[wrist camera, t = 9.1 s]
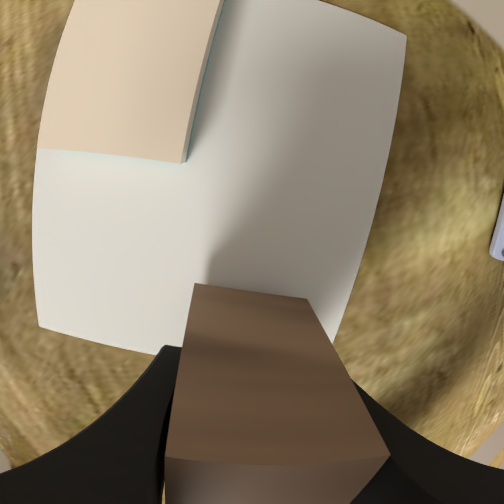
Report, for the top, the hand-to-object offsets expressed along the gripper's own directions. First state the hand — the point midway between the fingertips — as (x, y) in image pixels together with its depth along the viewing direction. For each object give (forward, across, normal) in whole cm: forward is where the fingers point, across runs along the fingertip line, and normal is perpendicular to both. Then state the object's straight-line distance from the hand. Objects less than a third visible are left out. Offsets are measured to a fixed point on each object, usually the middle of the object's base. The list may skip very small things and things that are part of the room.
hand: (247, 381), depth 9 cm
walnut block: (+2, 0, 0) cm, 2 cm away
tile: (+2, +6, -6) cm, 8 cm away
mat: (+4, +2, -6) cm, 7 cm away
